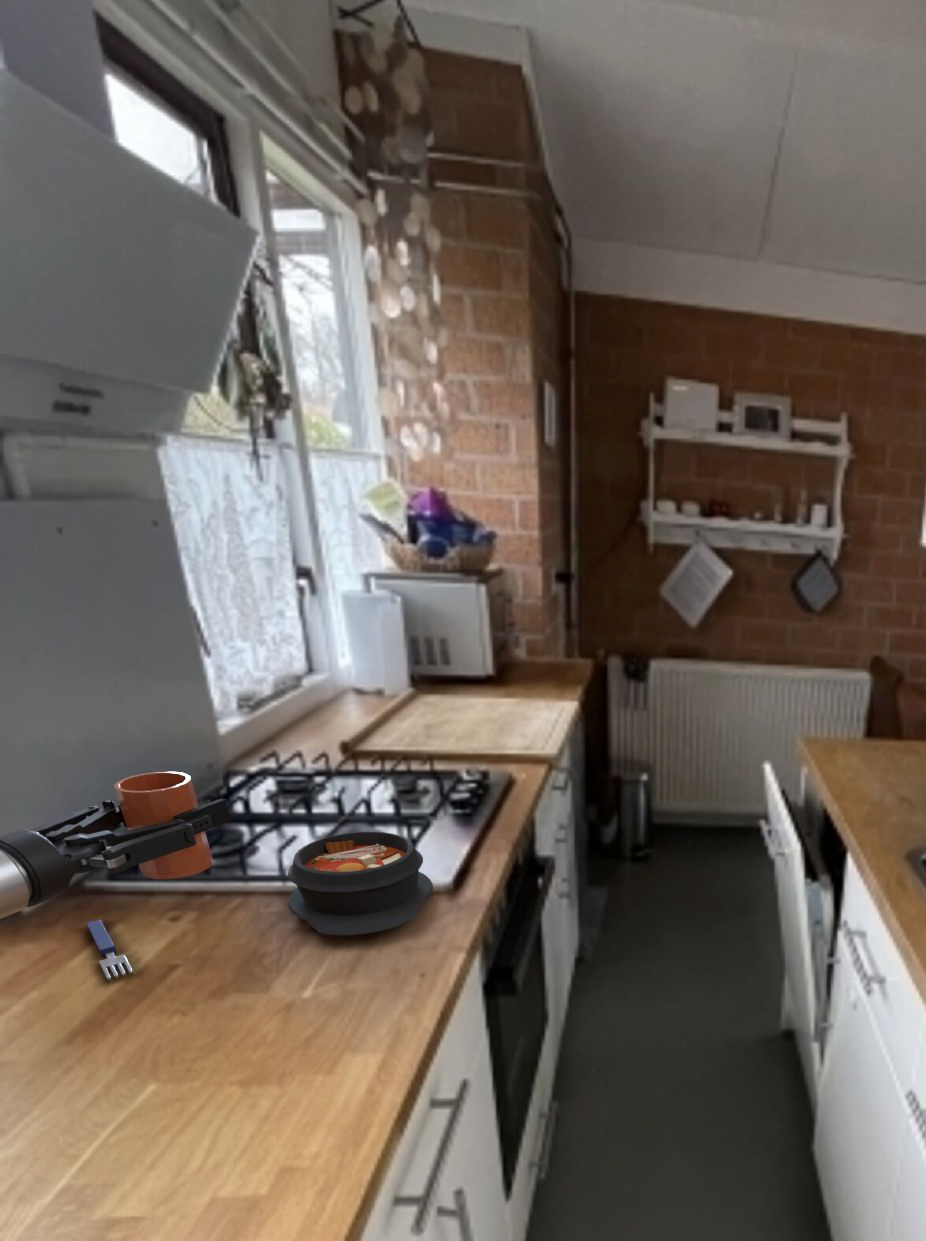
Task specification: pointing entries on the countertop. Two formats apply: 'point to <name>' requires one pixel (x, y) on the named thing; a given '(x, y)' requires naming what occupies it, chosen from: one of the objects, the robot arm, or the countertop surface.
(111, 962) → the fork
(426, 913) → the countertop surface
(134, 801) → the tumbler
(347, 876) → the casserole
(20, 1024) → the countertop surface
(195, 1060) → the countertop surface
